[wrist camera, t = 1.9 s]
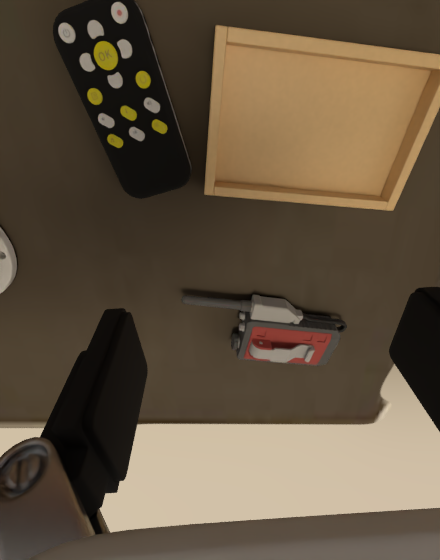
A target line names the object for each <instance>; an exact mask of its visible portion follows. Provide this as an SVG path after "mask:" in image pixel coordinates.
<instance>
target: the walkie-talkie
mask: <svg viewBox="0 0 440 560" xmlns="http://www.w3.org/2000/svg"><path fill="white" fill-rule="evenodd" d="M181 300H182V302H183V303H184V304H191V305H200V306H210V307H219V308H228V309H238V310H240V311H244V312H240V314H239V319H242V322H241V323H240V324H239V333H233V335H232V342H231V347H232V349H233V350H236V351H237V358H238V359H240V360H252V361H263V362H276V363H289V364H301V365H313V366H320V365H324V364H326V363H327V362H328V360H329V358H330V357H331V355H332V353H333V351H334V349H335V348H336V346H337V344H338V342H339V340H340V334H339V332H343V331H344V330H345V329H346V328H347V325H346V323H345V322H344V321H343V320H340V319H331V318H330V316H319V315H310V314H304V313H302V312H301V310H296V309H295V308H294V307H293V306H292V305H291V304H290V303H289V302H288V301H286V300H285V299H279V298H270V297H261V296H259V295H252V299H251V301H250V300H241V301H239V300H230V299H221V298H212V297H208V298H204V297H195V296H183V297H182V299H181ZM335 324H339V325H341V326H340V327H336V326H335Z"/></svg>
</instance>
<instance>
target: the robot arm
mask: <svg viewBox="0 0 440 560" xmlns="http://www.w3.org/2000/svg"><path fill="white" fill-rule="evenodd" d="M16 270H17V259H16V255H15V252H14V248H13V246H12V244H11V242H10V240H9V239H8V237H7V236H6V234H5V233H4V231H3V230H2V229H1V227H0V294H1V293H2V292H3V291H5V289H6V288H7V287H8V286H9V285H10V284H11V283H12V281H13V279H14V278H15V275H16ZM389 353H390V357H391V359H392V360H393V362H394V363H395V365H396V366H397V368H398V369H399V371H400V372H401V374H402V375H403V377H404V378H405V380H406V382H407V383H408V385H409V386H410V388H411V389H412V391H413V392H414V394H415V395H416V397H417V398H418V400H419V401H420V403H421V404H422V406H423V407H424V409H425V410H426V412H427V413H428V415H429V416H430V418H431V419H432V421H433V422H434V424H435V425H436V427H437V428H438V430H439V431H440V287H425V288H418V289H416V290H415V292H414V293H412V294H411V295H410V297H409V300H408V302H407V305H406V307H405V310H404V312H403V315H402V317H401V320H400V323H399V325H398V328H397V330H396V333H395V335H394V338H393V340H392V343H391V346H390V349H389ZM146 378H147V363H146V360H145V357H144V353H143V350H142V347H141V343H140V340H139V337H138V334H137V330H136V327H135V324H134V321H133V317H132V315H131V313H130V312H126V311H125V309H123V308H120V309H107V310H105V311H104V313H103V315H102V318H101V320H100V322H99V324H98V326H97V329H96V331H95V333H94V335H93V338H92V340H91V342H90V344H89V346H88V349H87V351H82V352H81V353H80V354H79V356H78V358H77V360H76V362H75V364H74V366H73V368H72V370H71V373H70V375H69V377H68V379H67V381H66V383H65V385H64V387H63V390H62V392H61V394H60V396H59V398H58V400H57V402H56V404H55V406H54V409H53V411H52V413H51V415H50V417H49V419H48V421H47V423H46V426H45V428H44V430H43V432H42V434H41V436H40V437H39V438H38V437H34V438H30V439H27V440H24V441H22V442H20V443H18V444H16V445H14V446H13V447H12V448H10V449H9V450H8V451H6V452H5V453H4V454H3V455H2V456H1V457H0V560H440V508H433V509H432V508H431V509H415V510H399V511H384V512H369V513H352V514H337V515H322V516H306V517H291V518H278V519H262V520H247V521H233V522H220V523H204V524H190V525H179V526H170V527H169V526H168V527H157V528H146V529H135V530H126V531H119V532H112V533H110V531H109V529H108V527H107V525H106V523H105V520H104V518H103V516H102V514H101V512H100V509H99V508H100V507H101V506H102V504H103V500H104V496H105V493H116V492H117V490H118V486H119V481H123V480H124V479H125V477H126V474H127V470H128V465H129V460H130V455H131V451H132V446H133V441H134V436H135V431H136V427H137V422H138V417H139V412H140V407H141V402H142V397H143V393H144V388H145V383H146Z"/></svg>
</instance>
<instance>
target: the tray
mask: <svg viewBox="0 0 440 560" xmlns="http://www.w3.org/2000/svg"><path fill="white" fill-rule="evenodd" d="M439 107H440V54H432V53H425V52H417V51H410V50H402V49H395V48H387V47H380V46H372V45H365V44H357V43H350V42H342V41H334V40H327V39H319V38H312V37H304V36H297V35H289V34H282V33H274V32H267V31H259V30H252V29H244V28H237V27H228V28H227V26H221V25H216V26H215V36H214V51H213V66H212V81H211V96H210V111H209V126H208V141H207V157H206V172H205V187H204V194H205V195H213V194H214V196H225V197H237V198H248V199H260V200H272V201H283V202H295V203H307V204H319V205H330V206H342V207H354V208H365V209H377V210H389V211H393V210H394V207H395V205H396V203H397V201H398V199H399V196H400V194H401V192H402V190H403V187H404V185H405V183H406V181H407V179H408V176H409V174H410V172H411V170H412V167H413V165H414V163H415V161H416V159H417V156H418V154H419V152H420V150H421V147H422V145H423V143H424V141H425V139H426V136H427V134H428V132H429V130H430V127H431V125H432V123H433V121H434V118H435V116H436V114H437V112H438V110H439Z"/></svg>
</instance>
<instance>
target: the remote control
mask: <svg viewBox="0 0 440 560" xmlns="http://www.w3.org/2000/svg"><path fill="white" fill-rule="evenodd" d="M53 35H54V41H55V43H56V46H57V49H58V51H59V53H60V55H61V57H62V59H63V61H64V64H65V66H66V68H67V70H68V72H69V74H70V76H71V78H72V81H73V83H74V85H75V87H76V89H77V91H78V93H79V96H80V98H81V100H82V102H83V104H84V106H85V108H86V111H87V113H88V115H89V117H90V119H91V121H92V123H93V126H94V128H95V130H96V132H97V134H98V136H99V138H100V140H101V143H102V145H103V147H104V149H105V151H106V153H107V155H108V158H109V160H110V162H111V164H112V166H113V168H114V170H115V173H116V175H117V177H118V179H119V181H120V183H121V185H122V187H123V189H124V190H125V191H126V192H127V193H128V194H129V195H131V196H132V197H135V198H141V199H142V198H147V197H150V196H154V195H157V194H161V193H164V192H167V191H171V190H174V189H178V188H180V187H182V186H184V185H185V184H186V183H187V182H188V180H189V179H190V176H191V163H190V160H189V157H188V154H187V150H186V147H185V144H184V141H183V138H182V135H181V132H180V128H179V125H178V122H177V119H176V116H175V113H174V110H173V106H172V103H171V100H170V97H169V94H168V91H167V88H166V85H165V81H164V78H163V75H162V72H161V69H160V64H159V61H158V58H157V55H156V53H155V50H154V47H153V43H152V40H151V37H150V34H149V31H148V28H147V25H146V21H145V18H144V15H143V13H142V11H141V9H140V8H139V6H138V5H137V4H136V2H135V1H134V0H88V1H86V2H83V3H81V4H78V5H76V6H73V7H70V8H68V9H65V10H64V11H62V12H60V13H59V14H58V16H57V17H56V19H55V22H54V25H53Z"/></svg>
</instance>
